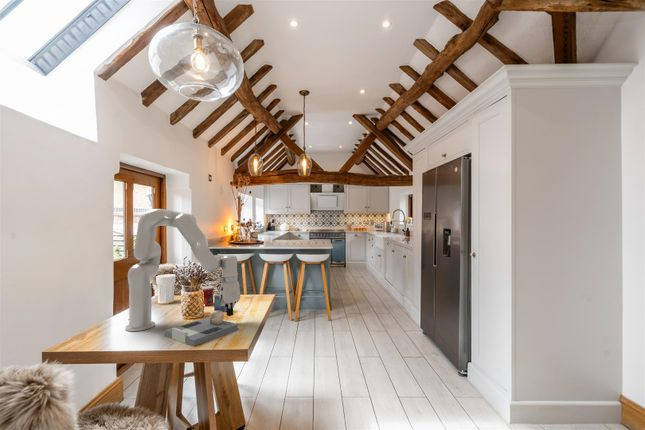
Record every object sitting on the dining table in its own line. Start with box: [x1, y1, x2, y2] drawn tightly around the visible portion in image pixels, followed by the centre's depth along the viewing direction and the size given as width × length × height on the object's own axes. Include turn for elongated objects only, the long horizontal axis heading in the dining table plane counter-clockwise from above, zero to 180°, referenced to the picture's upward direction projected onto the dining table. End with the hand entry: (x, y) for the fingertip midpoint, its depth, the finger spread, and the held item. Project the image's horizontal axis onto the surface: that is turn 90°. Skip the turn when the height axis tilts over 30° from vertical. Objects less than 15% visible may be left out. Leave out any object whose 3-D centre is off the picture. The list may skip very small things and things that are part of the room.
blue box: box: [213, 292, 226, 313], centre depth 183 cm, size 9×3×11 cm, turn 63°
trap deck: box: [163, 316, 239, 347], centre depth 147 cm, size 22×24×4 cm
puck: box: [209, 310, 224, 325], centre depth 154 cm, size 6×6×5 cm
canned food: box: [201, 285, 214, 307], centre depth 196 cm, size 8×8×11 cm
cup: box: [155, 273, 177, 305], centre depth 202 cm, size 11×11×17 cm
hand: (229, 315), depth 160 cm, fingers closed
